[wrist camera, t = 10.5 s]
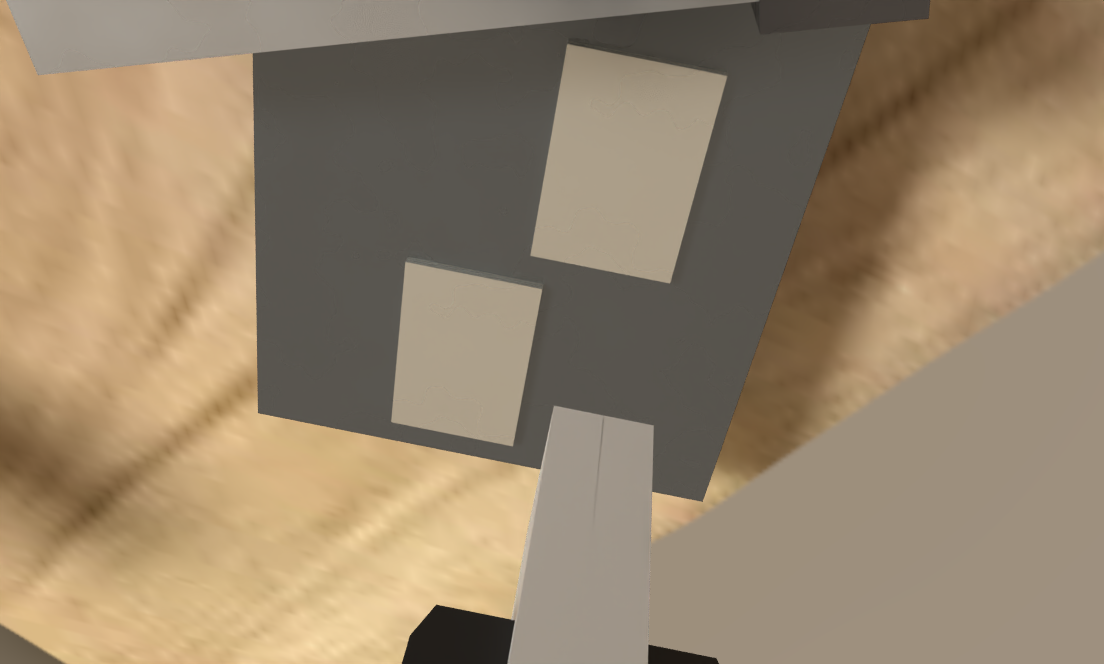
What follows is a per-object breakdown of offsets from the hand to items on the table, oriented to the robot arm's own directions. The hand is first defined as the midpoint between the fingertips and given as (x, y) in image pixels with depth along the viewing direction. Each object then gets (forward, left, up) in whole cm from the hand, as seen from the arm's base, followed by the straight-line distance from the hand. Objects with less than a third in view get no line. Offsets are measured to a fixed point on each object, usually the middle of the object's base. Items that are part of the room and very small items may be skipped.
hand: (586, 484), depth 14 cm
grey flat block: (+1, -3, -16) cm, 17 cm away
